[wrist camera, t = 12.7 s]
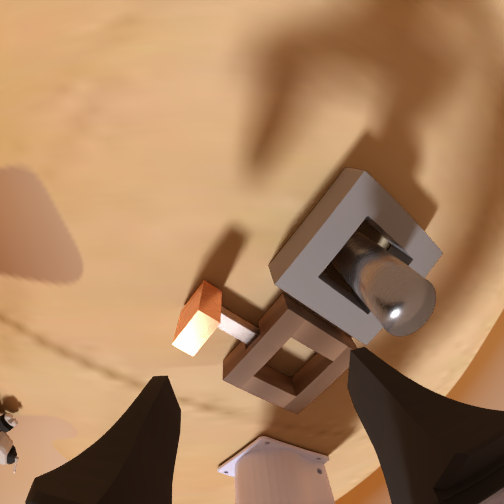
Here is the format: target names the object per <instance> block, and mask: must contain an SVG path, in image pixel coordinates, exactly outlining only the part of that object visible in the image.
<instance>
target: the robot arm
mask: <svg viewBox="0 0 504 504" xmlns="http://www.w3.org/2000/svg"><path fill="white" fill-rule="evenodd" d="M348 390H349V393H350V396H351V399H352V402H353V405H354V408H355V410H356V412H357V414H358V416H359V418H360V420H361V422H362V424H363V426H364V428H365V430H366V432H367V434H368V436H369V438H370V440H371V442H372V444H373V446H374V448H375V451H376V453H377V456H378V459H379V462H380V465H381V468H382V471H383V473H384V477H385V480H386V484H387V487H388V491H389V495H390V498H391V503H392V504H504V411H498V410H491V409H485V408H480V407H476V406H471V405H468V404H464V403H461V402H458V401H455V400H452V399H449V398H447V397H444V396H442V395H440V394H437V393H435V392H433V391H431V390H429V389H427V388H425V387H423V386H421V385H419V384H418V383H416V382H414V381H412V380H411V379H409V378H407V377H406V376H404V375H403V374H401V373H400V372H398V371H397V370H395V369H394V368H392V367H391V366H390V365H388V364H387V363H385V362H384V361H383V360H381V359H380V358H379V357H377V356H376V355H375V354H373V353H372V352H371V351H369V350H368V349H367V348H365V347H362V348H358V349H353V350H350V362H349V375H348ZM180 424H181V409H180V407H179V404H178V402H177V399H176V397H175V394H174V391H173V389H172V386H171V384H170V381H169V378H168V376H153V377H152V379H151V380H150V381H149V382H148V384H147V385H146V386H145V388H144V389H143V390H142V392H141V393H140V394H139V395H138V397H137V398H136V399H135V401H134V402H133V403H132V404H131V406H130V407H129V408H128V409H127V411H126V412H125V413H124V414H123V415H122V416H121V418H120V419H119V420H118V421H117V422H116V423H115V424H114V425H113V426H112V427H111V428H110V429H109V430H108V431H107V432H106V433H105V434H104V435H103V436H102V437H101V438H100V439H99V440H98V441H96V442H95V443H94V444H93V445H91V446H90V447H89V448H87V449H86V450H85V451H83V452H82V453H81V454H79V455H78V456H77V457H75V458H73V459H72V460H70V461H69V462H67V463H65V464H64V465H62V466H60V467H58V468H56V469H54V470H52V471H50V472H48V473H45V474H43V475H41V476H39V477H36V478H35V479H34V481H33V484H32V486H31V489H30V491H29V494H28V496H27V499H26V501H25V502H26V504H172V480H173V472H174V466H175V460H176V454H177V448H178V442H179V436H180ZM328 460H329V456H326V455H323V454H319V453H316V452H312V451H309V450H305V449H302V448H299V447H296V446H293V445H290V444H287V443H284V442H281V441H278V440H275V439H272V438H269V437H266V436H261V437H259V438H258V439H256V440H255V441H254V442H252V443H251V444H250V445H248V446H247V447H246V448H244V449H243V450H242V451H240V452H239V453H238V454H236V455H235V456H234V457H232V458H231V459H229V460H228V461H226V462H225V463H224V464H222V465H221V466H219V467H218V468H217V471H218V472H220V473H223V474H226V475H229V476H232V477H235V498H236V504H335V501H334V497H333V494H332V490H331V487H330V483H329V480H328V476H327V473H326V469H325V466H324V463H326V462H327V461H328Z"/></svg>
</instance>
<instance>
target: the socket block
mask: <svg viewBox="0 0 504 504" xmlns="http://www.w3.org/2000/svg"><path fill="white" fill-rule="evenodd" d="M258 324H259V330H260V335H259V336H258V337H257V338H256V339H255V340H254V341H253V343H252V344H251V345H250V346H249V345H248V344H246V343H244V342H242V341H241V342H240V343H239V344H238V345H237V346H236V347H235V348H234V349H233V351H232V352H231V353H230V354H229V355H228V356H227V357H226V358H225V359H224V361H223V380H224V381H226V382H228V383H230V384H232V385H234V386H236V387H238V388H240V389H242V390H244V391H246V392H248V393H250V394H253V395H255V396H257V397H259V398H261V399H264V400H266V401H268V402H270V403H273V404H275V405H277V406H279V407H282V408H284V409H286V410H289V411H291V412H294V413H296V414H298V413H299V412H301V411H302V410H303V409H304V408H305V407H306V406H308V405H309V404H310V403H311V402H312V401H313V400H314V399H315V398H317V397H318V396H319V395H320V394H321V393H322V392H323V391H324V390H325V389H326V388H328V387H329V386H330V385H331V384H332V383H333V382H334V381H335V380H336V379H337V378H338V377H339V376H340V375H341V374H342V373H343V372H344V371H345V370H346V369H348V368H349V362H350V350H353V349H357V347H356V345H355V344H354V342H353V340H352V339H351V338H350V337H349V336H347V335H345V334H344V333H342V332H341V331H339V330H338V329H336V328H335V327H333V326H332V325H330V324H329V323H327V322H326V321H324V320H323V319H321V318H320V317H318V316H316V315H315V314H313V313H312V312H310V311H309V310H307V309H306V308H304V307H303V306H301V305H300V304H298V303H297V302H295V301H294V300H292V299H291V298H289V297H288V296H286V295H285V294H283V293H282V294H281V295H280V297H279V298H278V299H277V300H276V301H275V303H274V304H273V305H272V306H271V307H270V308H269V310H268V311H267V312H266V313H265V314H264V315H263V316H262V318H261V319H260V320H259V321H258ZM290 337H292V338H294V339H295V340H297V341H299V342H300V343H302V344H304V345H306V346H307V347H309V348H311V349H312V350H314V351H316V352H317V353H316V354H315V355H314V356H313V357H312V358H311V359H310V360H309V361H308V362H307V363H306V364H305V365H304V366H303V367H302V368H301V369H300V370H299V371H298V372H297V373H296V374H295V375H294V376H293V377H292V378H290V377H288V376H286V375H284V374H282V373H280V372H278V371H276V370H274V369H272V368H271V367H269V366H267V365H265V364H266V363H267V362H268V361H269V359H270V358H271V357H272V356H273V355H274V354H275V353H276V352H277V351H278V350H279V349H280V348H281V347H282V346H283V345H284V344H285V343H286V342H287V341H288V339H289V338H290Z"/></svg>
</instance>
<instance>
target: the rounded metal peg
mask: <svg viewBox="0 0 504 504" xmlns="http://www.w3.org/2000/svg"><path fill="white" fill-rule="evenodd" d="M331 262H332V264H333V266H334V267H335V268H336V270H337V271H338V272H339V273H340V274H341V276H342V277H343V278H344V279H345V280H346V281H347V283H348V284H349V285H350V286H351V288H352V289H353V290H354V291H355V292H356V294H357V295H358V296H359V297H360V298H361V300H362V301H363V302H364V303H365V305H366V306H367V307H368V308H369V310H370V311H371V312H372V313H373V314H374V316H375V317H376V318H377V319H378V321H379V322H380V323H381V324H382V326H383V327H384V328H385V330H386V331H387V332H388V333H390V334H391V335H394V336H406V335H409V334H412V333H414V332H415V331H417V330H418V329H420V328H421V327H422V326H423V325H424V324H425V323H426V322H427V320H428V319H429V318H430V316H431V314H432V312H433V310H434V307H435V303H436V292H435V289H434V287H433V285H432V284H431V283H430V282H429V281H428V280H427V279H425V278H424V277H423V276H421V275H420V274H419V273H417V272H416V271H414V270H413V269H412V268H410V267H409V266H408V265H406V264H405V263H404V262H402V261H401V260H399V259H398V258H397V257H395V256H394V255H392V254H391V253H390V252H388V251H387V250H385V249H384V248H383V247H381V246H380V245H378V244H377V243H375V242H374V241H372V240H371V239H370V238H368V237H367V236H365V235H364V234H362V233H360V232H357V231H355V232H354V233H353V235H352V236H351V237H350V238H349V240H348V241H347V242H346V243H345V245H344V246H343V247H342V248H341V250H340V251H339V252H338V253H337V255H336V256H335V257H334V258H333V260H332V261H331Z"/></svg>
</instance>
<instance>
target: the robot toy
mask: <svg viewBox="0 0 504 504" xmlns="http://www.w3.org/2000/svg"><path fill="white" fill-rule="evenodd" d="M12 417H13V416H12V415H11V414H10V413H5V414H3V415H2V416H0V464H3V465H6V464H12V463H14V462H15V466H14V471H13V473H15V472H16V465H17V461H18V457H17V453H16V449H15V447H14V446H13V445H12V444H13V442H12V440H11V439H10V438H9V436H8V435H7V434H6V433H5V432H8V431H10V430H11V429H12V428H13V427H15V426H17V424H18V422H17V420H16V419H13V418H12Z"/></svg>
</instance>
